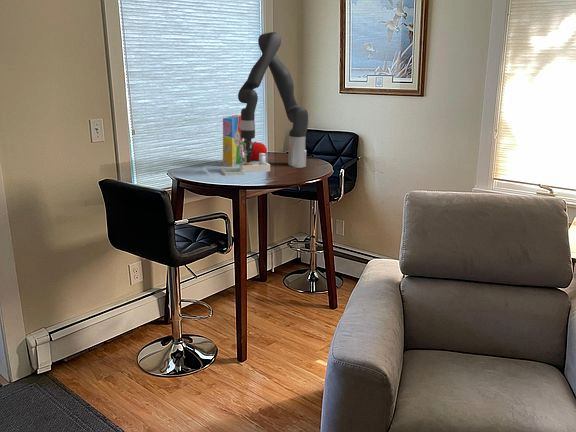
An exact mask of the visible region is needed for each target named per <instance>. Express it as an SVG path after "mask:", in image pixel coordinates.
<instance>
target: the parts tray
mask: <svg viewBox="0 0 576 432" xmlns="http://www.w3.org/2000/svg"><path fill="white" fill-rule="evenodd" d="M220 173H222V175H224V176H244V175H245V172H244V171H243V170H242V169H240V167H234V168H233V167H231V168H229V167H228V168H220Z"/></svg>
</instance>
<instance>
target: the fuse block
mask: <svg viewBox="0 0 576 432" xmlns="http://www.w3.org/2000/svg"><path fill="white" fill-rule="evenodd" d="M239 168H240V169H242V170H243V171H244V173H262V172H263V173H264V172H267V173H268V172H271V164H270V163H268V162H267V161H265V165H259V162H251V165H245V162H242V163H240V164H239Z"/></svg>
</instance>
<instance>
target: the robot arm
mask: <svg viewBox="0 0 576 432" xmlns="http://www.w3.org/2000/svg"><path fill="white" fill-rule="evenodd" d="M257 43H258V48H259V49H260V52H261V56H260V57H259V58H258V60H257V61H256V62H255V63H254V65H253V66H252V68H251V70H250V72H249V74H248V77H247V79H246V80H245V82H244V83H243V85H242V86H241V88H240V89H239V91H238V94H237V99H238V102H240V103H241V104H246V105H245V107H244V108H241V110H240V111H241V112H240V115H241V138H243V141H242V143H243V154H244V155H245V153H246V155H247V163H249V162H251V163H252V160H251V155H252V153H253V144H252V142H253V141H252V139H255V138H256V123H255V119H256V117H255V114H256V112H255V111H256V109H257V108H256V107H257V106H258V105H257V104H258V100H259V96H258V92H257V91H256V90H255V89H258V88H259V87H260V85H261V83H262V81H263V79H264V76H265V74H266V72H267V69H268V68H269V70H270V73H271V75H272V78H273V80H274V83H275V86H276V88H277V91H278V93H279V96H280V98H281V100H282V103H283V107H284V110H285V114H286V117H287V119H288V122H290V123H292V129H290V130H289V133H288V164H287V165H288V166H290V167H293V168H295V169H301V168H307V149H306V139H307V137H306V136H307V135H306V134H307V131H308V126H309V113H308V111H307V109H306V108H304V107H302V106H298V102H297V100H296V98H295V93H294V92H295V90H294V89H295V88H294V86H295V85H294V81H293V77H292V75H291V72H290V71H289V68H287V67H286V65H285V64H284V63H283V62H282V61H281V60H280V58H279V57H278V55H277V53H278V50H279V49H280V47H281V45H282V38H281V36H280V34H279V33H278V32H274V31H271V32H265V33H262V34H260V35H259V36H258V41H257ZM249 151H250V152H249Z"/></svg>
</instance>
